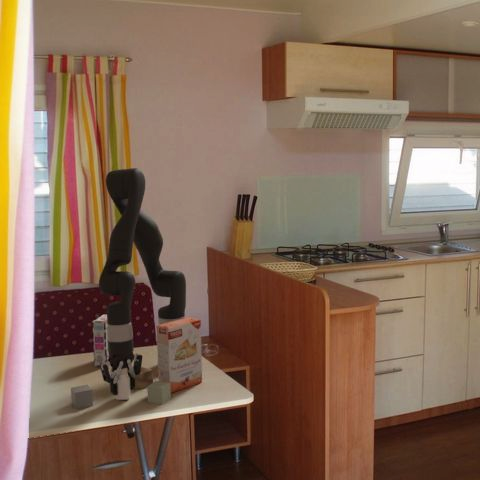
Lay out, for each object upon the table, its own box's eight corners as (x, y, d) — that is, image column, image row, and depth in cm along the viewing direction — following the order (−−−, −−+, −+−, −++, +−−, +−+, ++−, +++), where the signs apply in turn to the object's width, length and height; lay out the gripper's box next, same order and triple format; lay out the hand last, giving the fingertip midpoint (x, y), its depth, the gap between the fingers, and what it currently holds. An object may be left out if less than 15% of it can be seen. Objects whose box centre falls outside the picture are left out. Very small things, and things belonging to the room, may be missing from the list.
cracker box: (170, 394, 204) (168, 327, 201) (158, 390, 208) (155, 324, 205) (203, 382, 214) (201, 318, 211) (190, 378, 218) (188, 316, 215)
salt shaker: (115, 400, 199) (114, 369, 198) (118, 395, 203) (116, 365, 202) (129, 400, 199) (127, 369, 198) (131, 395, 203) (129, 365, 202)
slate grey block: (88, 400, 201) (87, 384, 200) (92, 405, 196) (91, 389, 196) (71, 403, 198) (70, 387, 198) (75, 409, 194) (74, 392, 193)
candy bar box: (107, 367, 232) (105, 321, 230) (93, 367, 233) (91, 321, 231) (117, 357, 243) (115, 314, 241) (104, 357, 244) (102, 313, 242)
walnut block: (142, 381, 216) (141, 367, 216) (153, 384, 213) (152, 369, 213) (131, 386, 212) (130, 371, 212) (142, 389, 209) (141, 373, 209)
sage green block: (156, 396, 202) (155, 380, 202) (170, 398, 200) (170, 382, 200) (148, 402, 198) (147, 386, 197) (162, 404, 196) (162, 388, 195)
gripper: (133, 330, 206) (136, 383, 208) (92, 340, 197) (95, 395, 199) (147, 334, 201) (149, 388, 203) (105, 344, 191) (109, 401, 193)
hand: (123, 391), depth 201 cm, fingers closed on salt shaker, 5 cm apart
